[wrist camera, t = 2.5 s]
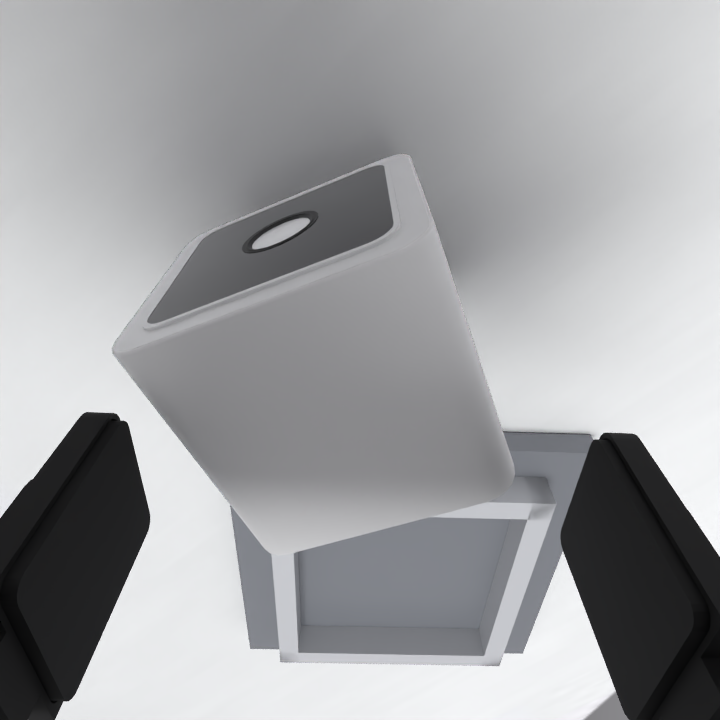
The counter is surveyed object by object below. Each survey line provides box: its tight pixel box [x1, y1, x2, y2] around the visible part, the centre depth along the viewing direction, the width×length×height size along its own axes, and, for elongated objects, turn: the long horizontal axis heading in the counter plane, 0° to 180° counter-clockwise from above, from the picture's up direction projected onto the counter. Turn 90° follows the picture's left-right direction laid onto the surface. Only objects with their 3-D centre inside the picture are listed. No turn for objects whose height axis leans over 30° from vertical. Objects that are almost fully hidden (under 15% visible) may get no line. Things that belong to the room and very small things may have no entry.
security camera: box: [112, 154, 515, 555], centre depth 15 cm, size 6×7×10 cm
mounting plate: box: [230, 432, 593, 666], centre depth 27 cm, size 16×16×3 cm
